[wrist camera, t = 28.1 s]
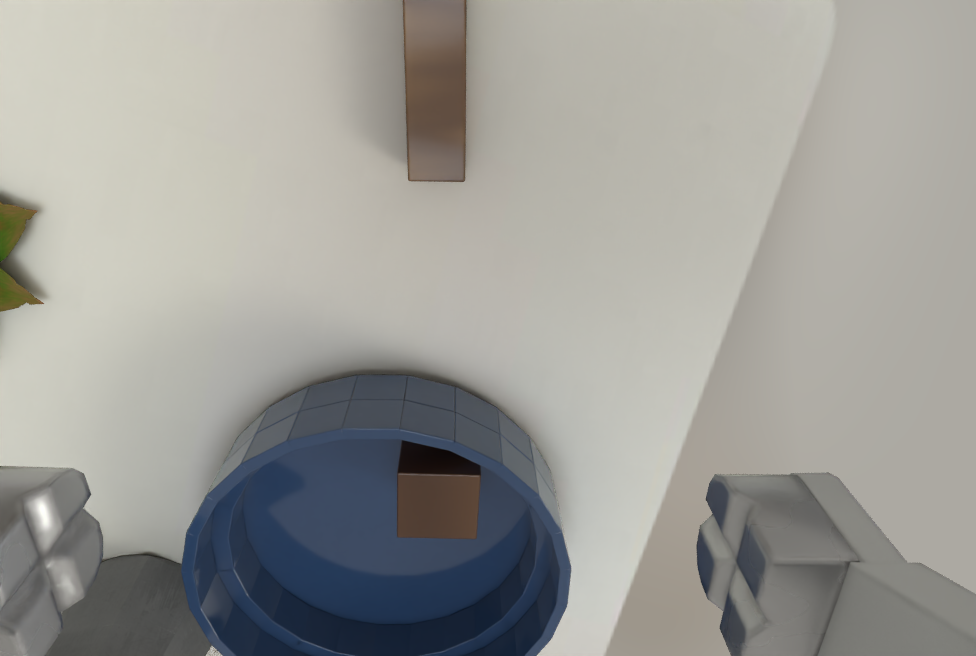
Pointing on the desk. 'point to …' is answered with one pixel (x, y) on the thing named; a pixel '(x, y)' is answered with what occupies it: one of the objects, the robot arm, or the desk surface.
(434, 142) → the stick
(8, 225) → the lily flower
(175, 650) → the coffeepot
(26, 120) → the desk surface
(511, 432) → the bowl
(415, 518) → the block
